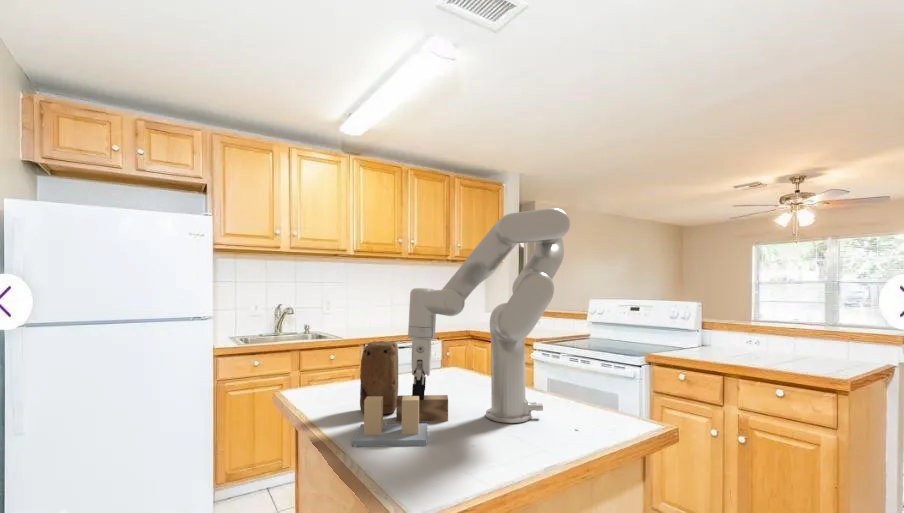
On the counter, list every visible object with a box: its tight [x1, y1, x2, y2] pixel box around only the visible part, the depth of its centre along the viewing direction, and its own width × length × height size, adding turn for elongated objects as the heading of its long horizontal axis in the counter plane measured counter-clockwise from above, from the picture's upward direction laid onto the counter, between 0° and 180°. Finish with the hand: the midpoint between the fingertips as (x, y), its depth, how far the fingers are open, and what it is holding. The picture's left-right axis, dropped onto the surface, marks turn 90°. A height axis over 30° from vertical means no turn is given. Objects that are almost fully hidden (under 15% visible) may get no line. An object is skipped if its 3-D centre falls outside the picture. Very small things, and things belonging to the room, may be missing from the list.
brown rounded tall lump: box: [359, 340, 399, 415], centre depth 130 cm, size 11×8×20 cm
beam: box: [395, 394, 449, 423], centre depth 123 cm, size 14×4×6 cm, turn 93°
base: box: [351, 395, 428, 447], centre depth 108 cm, size 17×12×9 cm
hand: (418, 394), depth 123 cm, fingers open, 9 cm apart
